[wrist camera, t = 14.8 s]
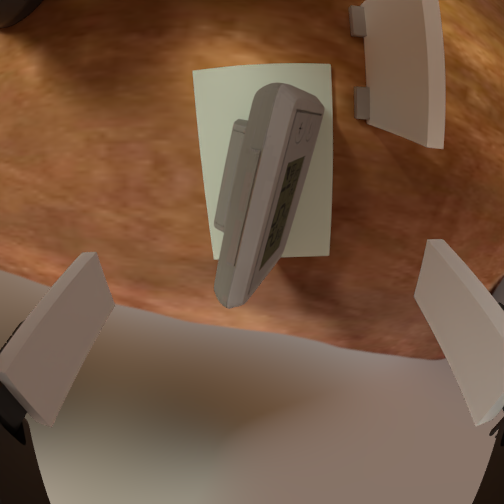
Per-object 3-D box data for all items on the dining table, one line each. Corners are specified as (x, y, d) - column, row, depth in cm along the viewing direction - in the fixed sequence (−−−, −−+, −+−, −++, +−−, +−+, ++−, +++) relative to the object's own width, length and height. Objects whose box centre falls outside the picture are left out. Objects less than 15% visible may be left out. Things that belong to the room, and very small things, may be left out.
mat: (194, 71, 24) (192, 70, 23) (329, 64, 23) (330, 64, 22) (214, 256, 33) (214, 259, 32) (328, 252, 32) (329, 255, 31)
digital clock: (274, 259, 32) (276, 331, 23) (193, 226, 31) (162, 288, 21) (352, 117, 24) (399, 133, 15) (260, 72, 23) (255, 57, 14)
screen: (347, 3, 19) (396, -43, 9) (384, 8, 19) (448, -28, 9) (354, 123, 25) (409, 145, 15) (389, 125, 25) (458, 151, 15)
